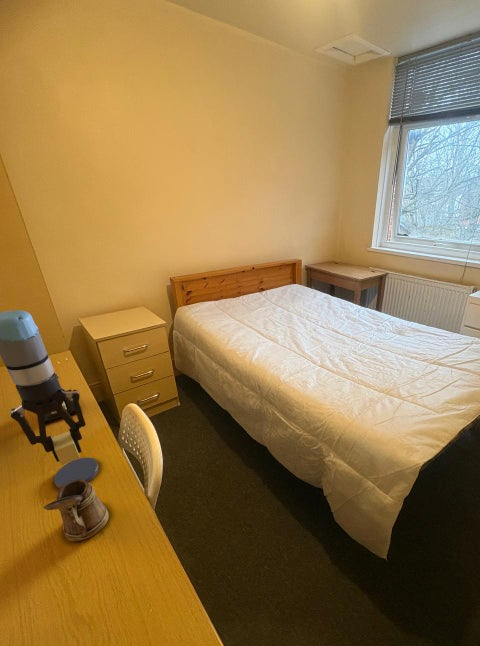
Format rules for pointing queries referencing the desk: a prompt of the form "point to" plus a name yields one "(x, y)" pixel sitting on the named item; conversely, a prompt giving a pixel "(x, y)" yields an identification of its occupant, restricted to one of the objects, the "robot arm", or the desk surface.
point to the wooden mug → (79, 510)
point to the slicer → (68, 405)
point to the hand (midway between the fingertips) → (68, 453)
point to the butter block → (65, 448)
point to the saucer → (76, 471)
